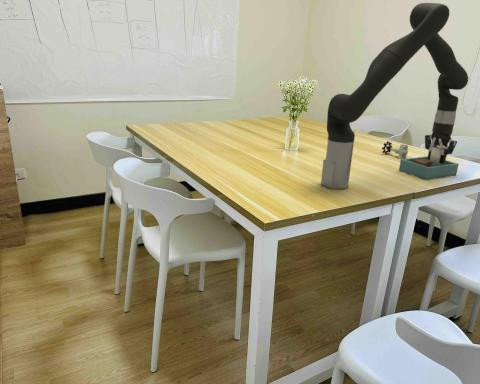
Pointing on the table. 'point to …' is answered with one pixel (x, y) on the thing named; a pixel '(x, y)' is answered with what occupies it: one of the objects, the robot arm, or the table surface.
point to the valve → (396, 150)
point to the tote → (428, 169)
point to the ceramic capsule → (435, 155)
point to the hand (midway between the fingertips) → (435, 161)
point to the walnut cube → (423, 162)
